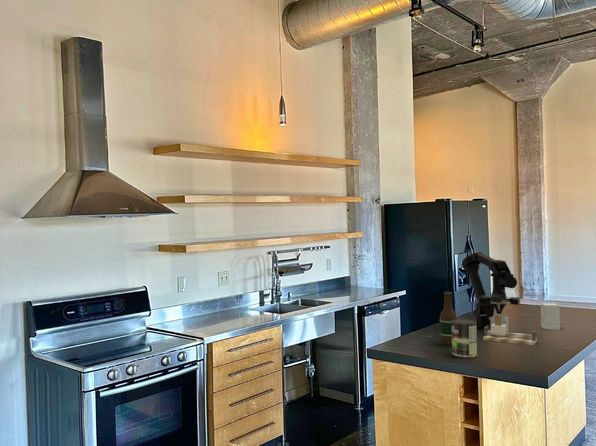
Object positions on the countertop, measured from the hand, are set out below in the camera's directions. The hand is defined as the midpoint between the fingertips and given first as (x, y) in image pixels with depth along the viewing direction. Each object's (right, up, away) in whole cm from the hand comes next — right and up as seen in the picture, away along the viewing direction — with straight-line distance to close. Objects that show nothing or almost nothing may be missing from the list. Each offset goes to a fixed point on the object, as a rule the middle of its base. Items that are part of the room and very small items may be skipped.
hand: (499, 317), depth 253 cm
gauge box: (0, -8, 0) cm, 8 cm away
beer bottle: (-31, -9, -19) cm, 37 cm away
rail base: (-1, -8, -14) cm, 17 cm away
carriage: (-5, -6, -12) cm, 14 cm away
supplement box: (+31, -8, +11) cm, 34 cm away
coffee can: (-30, -9, -37) cm, 49 cm away
